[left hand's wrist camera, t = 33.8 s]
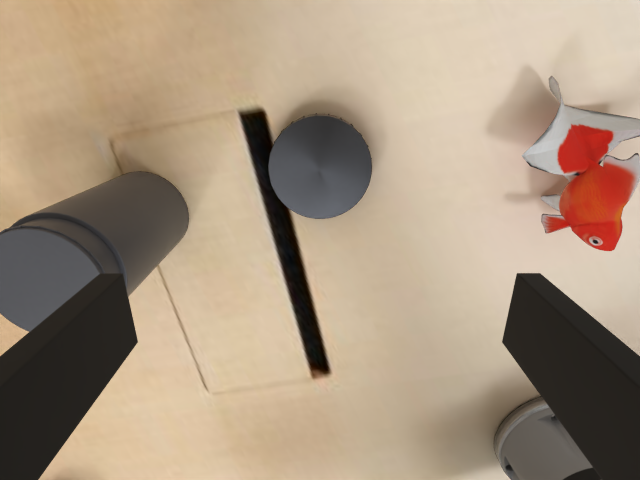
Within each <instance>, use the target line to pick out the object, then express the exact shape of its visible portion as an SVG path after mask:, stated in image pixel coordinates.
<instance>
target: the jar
mask: <svg viewBox="0 0 640 480" xmlns="http://www.w3.org/2000/svg"><path fill="white" fill-rule="evenodd" d="M188 222H189V214H188V209H187V206H186V203H185V201H184V198H183V197H182V195H181V194H180V192H179V191H178V190H177V189H176V188H175V187H174V186H173V185H172V184H171V183H170V182H168V181H167V180H165V179H164V178H162V177H160V176H158V175H155V174H152V173H148V172H130V173H127V174H124V175H121V176H119V177H117V178H114V179H112V180H110V181H107V182H105V183H103V184H100V185H98V186H96V187H93V188H91V189H89V190H86V191H84V192H82V193H79V194H77V195H75V196H72V197H70V198H68V199H65V200H63V201H61V202H58V203H56V204H54V205H51V206H49V207H47V208H44V209H42V210H40V211H37V212H35V213H33V214H30V215H28V216H26V217H24V218H22V219H20V220H18V221H17V222H16V223H14V224H13V225H12V226H11V227H10V228H8V229H5V230H3V231H1V232H0V313H1V314H2V315H3V316H4V317H5V318H6V319H8V320H9V321H10V322H12V323H14V324H15V325H17V326H18V327H20V328H22V329H24V330H27V331H29V332H30V331H31V330H33V329H34V328H35V327H36V326H37V325H39V324H40V323H41V322H42V321H43V320H45V319H46V318H47V317H48V316H49V315H51V314H52V313H53V312H54V311H55V310H57V309H58V308H59V307H60V306H61V305H63V304H64V303H65V302H66V301H67V300H69V299H70V298H71V297H72V296H73V295H75V294H76V293H77V292H78V291H79V290H81V289H82V288H83V287H84V286H85V285H87V284H88V283H89V282H90V281H92V280H93V279H94V278H95V277H96V276H98V275H99V274H100V273H123V276H124V280H125V285H126V290H127V294H128V296H129V295H130V294H131V293H132V292H133V291H134V290H135V289H136V288H137V287H138V286H139V285H140V284H141V282H142V281H143V280H144V279H145V278H146V277H147V276H148V275H149V274H150V273H151V272H152V271H153V270H154V268H155V267H156V266H157V265H158V264H159V263H160V262H161V261H162V260H163V259H164V258H165V257H166V256H167V254H168V253H169V252H170V251H171V250H172V249H173V248H174V247H175V246H176V245H177V244H178V243H179V242H180V240H181V239H182V238H183V236H184V235H185V233H186V231H187V227H188Z"/></svg>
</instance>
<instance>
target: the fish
mask: <svg viewBox="0 0 640 480" xmlns="http://www.w3.org/2000/svg"><path fill="white" fill-rule="evenodd" d="M549 86H550V90H551V92H552V93H553V94H554V96H555V97H556V99H557V100H558V102H559V104H560V107H559V109H558V112H557V114H556V117H555V118H554V120H553V121H552V123H551V124H550V126H549V127H548V128H547V130H546V131H545V133H544V134H543V135H542V136H541V137H540V138H539V139H538V140H537V141H536V142H535V143H534V144H533V145H532V146H531V147H530V148H529V149H528V150H527V151H526V152H525V153H524V154H523V155H522V157H523V158H524V159H525V160H526V162H527V163H528V164H529V165H530V166H531V167H534V168H537V169H540V170H543V171H546V172H549V173H553V174H560V175H563V176H564V177H566V178H567V179H568V181H569V183H568V184H567V186H566V187H565V188H564V190H563V192H562V194H561V197H560V196H559V195H549V196H542V197H541V200H543V201H544V202H545V203H547V204H549V205H550V206H552V207H553V208H554V209H556V210H558V211H560V213H561V215H548V214H542V221H541V222H542V224H543V226H544V228H545V233H551V232H554V231H557V230H560V229H563V228H567V227H571V228H572V231H573V232H574V233H575V234H576V235H577V236H578V237H580V238H581V239H582V240H583V241H584V242H585V243H587V244H588V245H590V246H592V247H594V248H596V249H599V250H604V251H612V250H614V249H615V247H616V244H617V242H618V240H619V238H620V236H621V233H622V220H621V215H622V211H623V207H624V206H625V205H626V204H627V202H628V201H629V199H630V198H631V196H632V195H633V193H634V191H635V189H636V187H637V185H638V182H639V180H640V160H639V155H638V153H635V154H634V155H633V156H632V157H631V158H629V159H627V160H620V159H617V158H615V157H612V156H609V155H606V154H607V153H609V152H610V151H611V150H612V149H614V148H615V147H616V146H617V145H618V144H619V143H620V142H621V141H624V140H628V139H631V138H635V137H639V136H640V119H636V118H631V117H625V116H619V115H613V114H607V113H601V112H594V111H588V110H582V109H577V108H574V107H570V106H566V105H564V103H563V100H562V97H561V94H560V90H559V85H558V83H557V81H556V80H555V79H554V78H553V77H552V76H551V77H550V78H549ZM603 159H604V165H603V167H602V166H600V165H599V164H600V163H601V162H602V160H603Z"/></svg>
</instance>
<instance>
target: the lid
mask: <svg viewBox="0 0 640 480" xmlns="http://www.w3.org/2000/svg"><path fill="white" fill-rule="evenodd" d="M281 132H282V133H281V134H280V135H279V137H278V138H277V139H276V140H275V141H274V145H273V147H272V150H271V153H270V157H269V165H268V167H269V177H270V181H271V185H272V187H273V189H274V191H275V193H276V195H277V196H278V198H279V199H280V200H281V201H282V203H283V204H285V205H286V206H287V207H288V208H289V209H291V210H292V211H294V212H296V213H297V214H300V215H302V216H305V217H309V218H315V219H325V218H331V217H335V216H338V215H341V214H343V213H345V212H347V211H348V210H350V209H351V208H352V207H354V206H355V205H356V204H357V203H358V202H359V200H360V199H361V198H362V197H363V195H364V194H365V192H366V190H367V188H368V185H369V182H370V178H371V172H372V162H371V156H370V152H369V149H368V145H367V144H366V143H365V141H364V139H363V138H362V135H361V134H360V133H358V132H357V131H356V129H355V128H354V127H353V125H352V124H349V123H347V122H346V121H344V120H343V119H342V118H338V117H335V116H332V115H329V114H328V115H327V114H317V113H316V114H314V115H308V116H303V117H302V118H300V119H298V120H296V121H293V122H292V123H291V124H290V125H289V126H288V127H287V128H286V129H285V130H284V129H283V130H282V131H281Z"/></svg>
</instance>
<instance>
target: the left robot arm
mask: <svg viewBox="0 0 640 480" xmlns="http://www.w3.org/2000/svg"><path fill="white" fill-rule="evenodd" d="M137 342H138V341H137V336H136V331H135V327H134V322H133V317H132V313H131V308H130V303H129V299H128V294H127V290H126V285H125V280H124V276H123V273H100V274H99V275H98V276H96V277H95V278H94V279H93V280H92V281H90V282H89V283H88V284H87V285H85V286H84V287H83V288H82V289H81V290H79V291H78V292H77V293H76V294H75V295H73V296H72V297H71V298H70V299H69V300H67V301H66V302H65V303H64V304H63V305H61V306H60V307H59V308H58V309H57V310H55V311H54V312H53V313H52V314H51V315H49V316H48V317H47V318H46V319H45V320H43V321H42V322H41V323H40V324H39V325H37V326H36V327H35V328H34V329H33V330H31V331H30V332H29V333H28V334H27V335H25V336H24V337H23V338H22V339H21V340H19V341H18V342H17V343H16V344H15V345H13V346H12V347H11V348H10V349H9V350H7V351H6V352H5V353H4V354H3V355H1V356H0V480H38V479H39V478H40V476H41V475H42V474H43V472H44V471H45V470H46V468H47V467H48V465H49V464H50V463H51V461H52V460H53V458H54V457H55V456H56V454H57V453H58V452H59V450H60V449H61V447H62V446H63V445H64V443H65V442H66V441H67V439H68V438H69V436H70V435H71V434H72V432H73V431H74V429H75V428H76V427H77V425H78V424H79V423H80V421H81V420H82V418H83V417H84V416H85V414H86V413H87V412H88V410H89V409H90V407H91V406H92V405H93V403H94V402H95V400H96V399H97V398H98V396H99V395H100V394H101V392H102V391H103V389H104V388H105V387H106V385H107V384H108V382H109V381H110V380H111V378H112V377H113V376H114V374H115V373H116V371H117V370H118V369H119V367H120V366H121V365H122V363H123V362H124V360H125V359H126V358H127V356H128V355H129V353H130V352H131V351H132V349H133V348H134V347H135V345H136V344H137ZM502 342H503V344H504V345H505V347H506V348H507V349H508V351H509V352H510V353H511V355H512V356H513V358H514V359H515V360H516V362H517V363H518V365H519V366H520V367H521V369H522V370H523V371H524V373H525V374H526V376H527V377H528V378H529V380H530V381H531V382H532V384H533V385H534V387H535V388H536V389H537V391H538V392H539V394H540V395H541V396H542V397H539V398H536V399H534V400H531V401H529V402H527V403H525V404H523V405H522V406H520V407H518V408H517V409H516V410H514V411H513V412H512V413H511V414H510V415H508V416H507V418H506V419H505V420H504V421H503V422H502V424H501V425H500V427H499V428H498V430H497V433H496V436H495V440H494V449H495V453H496V456H497V458H498V460H499V462H500V464H501V466H502V468H503V470H504V472H505V473H506V474H507V476H508V477H509V478H510V479H511V480H640V356H639V355H637V354H636V353H635V352H634V351H633V350H631V349H630V348H629V347H628V346H627V345H625V344H624V343H623V342H622V341H621V340H619V339H618V338H617V337H616V336H615V335H613V334H612V333H611V332H610V331H609V330H607V329H606V328H605V327H604V326H603V325H601V324H600V323H599V322H598V321H597V320H595V319H594V318H593V317H592V316H591V315H589V314H588V313H587V312H586V311H585V310H583V309H582V308H581V307H580V306H579V305H577V304H576V303H575V302H574V301H573V300H571V299H570V298H569V297H568V296H567V295H565V294H564V293H563V292H562V291H561V290H559V289H558V288H557V287H556V286H555V285H553V284H552V283H551V282H550V281H548V280H547V279H546V278H545V277H544V276H542V275H541V274H540V273H517V276H516V280H515V285H514V290H513V294H512V299H511V303H510V308H509V313H508V317H507V322H506V327H505V331H504V336H503V341H502Z"/></svg>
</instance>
